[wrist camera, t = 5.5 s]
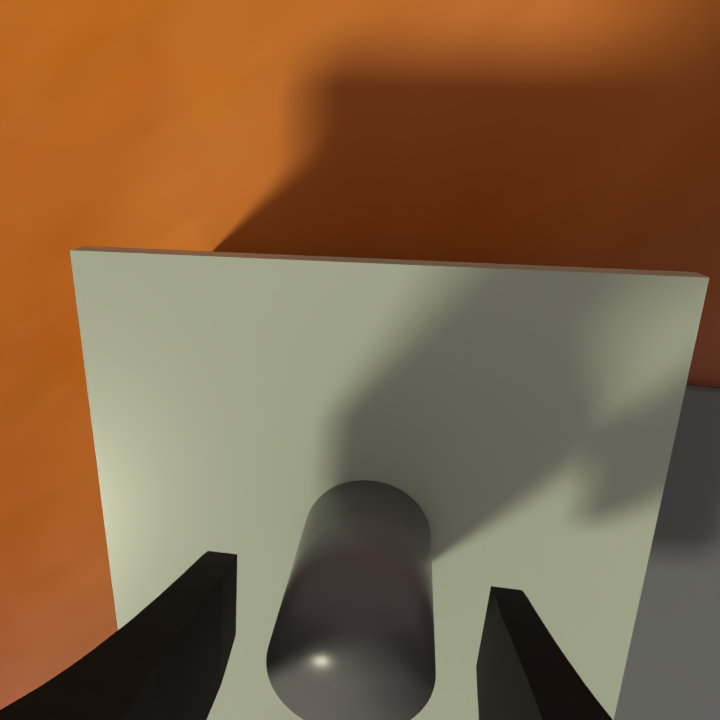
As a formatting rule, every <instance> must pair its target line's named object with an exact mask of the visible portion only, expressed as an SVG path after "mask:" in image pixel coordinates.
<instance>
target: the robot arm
mask: <svg viewBox="0 0 720 720" xmlns="http://www.w3.org/2000/svg"><path fill="white" fill-rule="evenodd" d="M236 601H237V554H230V553H222V552H214V551H207V552H206V553H205V554H203V555H202V556H201V557H200V558H199V559H198V560H197V561H196V562H195V563H194V564H192V565H191V566H190V567H189V568H188V569H187V570H186V571H185V572H184V573H183V574H182V575H181V576H180V577H179V578H178V579H177V580H176V581H174V582H173V583H172V584H171V585H170V586H169V587H168V588H167V589H166V590H165V591H164V592H162V593H161V594H160V595H159V596H158V597H157V598H156V599H154V600H153V601H152V602H151V603H150V604H149V605H148V606H146V607H145V608H144V609H143V610H142V611H141V612H140V613H138V614H137V615H136V616H135V617H134V618H133V619H131V620H130V621H129V622H128V623H127V624H125V625H124V626H123V627H122V628H120V629H119V630H118V631H116V632H115V633H114V634H113V635H111V636H110V637H109V638H108V639H106V640H105V641H104V642H103V643H101V644H100V645H99V646H98V647H96V648H95V649H94V650H92V651H91V652H90V653H88V654H87V655H85V656H84V657H83V658H81V659H80V660H79V661H77V662H76V663H74V664H73V665H72V666H70V667H69V668H67V669H66V670H64V671H63V672H61V673H60V674H58V675H57V676H55V677H54V678H53V679H51V680H50V681H48V682H47V683H45V684H43V685H42V686H40V687H39V688H37V689H35V690H34V691H32V692H30V693H29V694H27V695H25V696H24V697H22V698H20V699H18V700H17V701H15V702H13V703H12V704H10V705H8V706H6V707H5V708H3V709H1V710H0V720H207V718H208V715H209V713H210V710H211V708H212V706H213V703H214V701H215V698H216V696H217V694H218V691H219V689H220V686H221V684H222V680H223V677H224V674H225V670H226V667H227V664H228V660H229V657H230V653H231V650H232V646H233V643H234V640H235V636H236ZM476 675H477V696H478V712H479V720H613V719H612V718H611V717H610V716H609V714H608V713H607V712H606V711H605V709H604V708H603V707H602V705H601V704H600V703H599V702H598V700H597V699H596V698H595V696H594V695H593V694H592V692H591V691H590V690H589V688H588V687H587V686H586V684H585V683H584V682H583V680H582V679H581V677H580V676H579V675H578V673H577V672H576V670H575V669H574V668H573V666H572V665H571V663H570V662H569V661H568V659H567V658H566V656H565V655H564V653H563V652H562V650H561V649H560V647H559V646H558V645H557V643H556V641H555V640H554V638H553V637H552V635H551V634H550V632H549V631H548V629H547V628H546V626H545V625H544V623H543V621H542V620H541V618H540V617H539V615H538V614H537V612H536V610H535V609H534V607H533V606H532V604H531V602H530V601H529V599H528V597H527V596H526V595H525V593H524V592H523V591H522V590H517V589H509V588H501V587H493V586H491V589H490V594H489V600H488V605H487V610H486V616H485V621H484V627H483V632H482V637H481V643H480V648H479V654H478V659H477V664H476Z"/></svg>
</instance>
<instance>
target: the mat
mask: <svg viewBox="0 0 720 720" xmlns="http://www.w3.org/2000/svg"><path fill="white" fill-rule="evenodd" d="M614 720H720V388H712V387H703V386H693V385H686V388H685V393H684V398H683V402H682V407H681V411H680V416H679V421H678V425H677V430H676V435H675V439H674V444H673V448H672V453H671V458H670V462H669V467H668V471H667V476H666V481H665V485H664V490H663V495H662V499H661V504H660V508H659V513H658V518H657V522H656V527H655V532H654V536H653V541H652V545H651V550H650V555H649V559H648V564H647V568H646V573H645V578H644V582H643V587H642V592H641V596H640V601H639V605H638V610H637V615H636V619H635V624H634V629H633V633H632V638H631V642H630V647H629V652H628V656H627V661H626V666H625V670H624V675H623V679H622V684H621V689H620V693H619V698H618V702H617V707H616V712H615V716H614Z"/></svg>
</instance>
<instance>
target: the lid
mask: <svg viewBox="0 0 720 720" xmlns="http://www.w3.org/2000/svg"><path fill="white" fill-rule="evenodd" d="M70 255H71V263H72V271H73V279H74V286H75V294H76V302H77V310H78V318H79V326H80V334H81V342H82V350H83V358H84V365H85V373H86V381H87V389H88V397H89V405H90V413H91V421H92V429H93V437H94V445H95V452H96V460H97V468H98V476H99V484H100V492H101V500H102V508H103V516H104V524H105V532H106V539H107V547H108V555H109V563H110V571H111V579H112V587H113V595H114V603H115V611H116V618H117V626H118V630H119V629H120V628H122V627H123V626H124V625H125V624H127V623H128V622H129V621H130V620H131V619H133V618H134V617H135V616H136V615H137V614H138V613H140V612H141V611H142V610H143V609H144V608H145V607H146V606H148V605H149V604H150V603H151V602H152V601H153V600H154V599H156V598H157V597H158V596H159V595H160V594H161V593H162V592H164V591H165V590H166V589H167V588H168V587H169V586H170V585H171V584H172V583H173V582H174V581H176V580H177V579H178V578H179V577H180V576H181V575H182V574H183V573H184V572H185V571H186V570H187V569H188V568H189V567H190V566H191V565H192V564H194V563H195V562H196V561H197V560H198V559H199V558H200V557H201V556H202V555H203V554H205V553H206V552H207V551H214V552H222V553H230V554H237V601H236V636H235V640H234V643H233V646H232V650H231V653H230V657H229V660H228V664H227V667H226V670H225V674H224V677H223V680H222V684H221V686H220V689H219V691H218V694H217V696H216V698H215V701H214V703H213V706H212V708H211V710H210V713H209V715H208V718H207V720H479V712H478V696H477V675H476V664H477V659H478V654H479V648H480V643H481V637H482V632H483V627H484V621H485V616H486V610H487V605H488V600H489V594H490V589H491V586H493V587H501V588H509V589H517V590H522V591H523V592H524V593H525V595H526V596H527V597H528V599H529V601H530V602H531V604H532V606H533V607H534V609H535V610H536V612H537V614H538V615H539V617H540V618H541V620H542V621H543V623H544V625H545V626H546V628H547V629H548V631H549V632H550V634H551V635H552V637H553V638H554V640H555V641H556V643H557V645H558V646H559V647H560V649H561V650H562V652H563V653H564V655H565V656H566V658H567V659H568V661H569V662H570V663H571V665H572V666H573V668H574V669H575V670H576V672H577V673H578V675H579V676H580V677H581V679H582V680H583V682H584V683H585V684H586V686H587V687H588V688H589V690H590V691H591V692H592V694H593V695H594V696H595V698H596V699H597V700H598V702H599V703H600V704H601V705H602V707H603V708H604V709H605V711H606V712H607V713H608V714H609V716H610V717H611V718H612V719H613V720H614V716H615V712H616V707H617V702H618V698H619V693H620V689H621V684H622V679H623V675H624V670H625V666H626V661H627V656H628V652H629V647H630V642H631V638H632V633H633V629H634V624H635V619H636V615H637V610H638V605H639V601H640V596H641V592H642V587H643V582H644V578H645V573H646V568H647V564H648V559H649V555H650V550H651V545H652V541H653V536H654V532H655V527H656V522H657V518H658V513H659V508H660V504H661V499H662V495H663V490H664V485H665V481H666V476H667V471H668V467H669V462H670V458H671V453H672V448H673V444H674V439H675V435H676V430H677V425H678V421H679V416H680V411H681V407H682V402H683V398H684V393H685V388H686V384H687V379H688V374H689V370H690V365H691V361H692V356H693V351H694V347H695V342H696V338H697V333H698V328H699V324H700V319H701V314H702V310H703V305H704V301H705V296H706V291H707V287H708V282H709V277H707V276H704V275H702V274H700V273H697V272H683V271H660V270H636V269H613V268H589V267H565V266H542V265H518V264H494V263H471V262H447V261H424V260H400V259H376V258H353V257H329V256H305V255H282V254H258V253H234V252H211V251H187V250H164V249H140V248H116V247H93V246H83V247H80V248H76V249H73V250H70Z"/></svg>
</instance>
